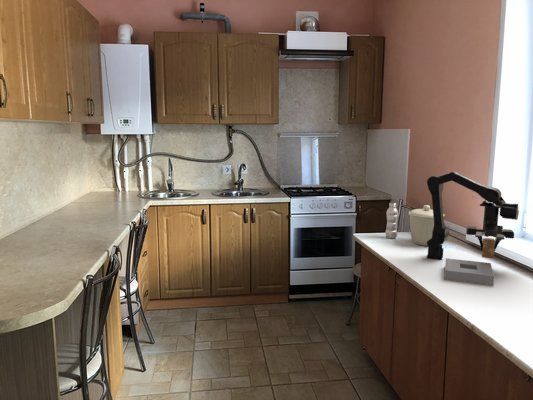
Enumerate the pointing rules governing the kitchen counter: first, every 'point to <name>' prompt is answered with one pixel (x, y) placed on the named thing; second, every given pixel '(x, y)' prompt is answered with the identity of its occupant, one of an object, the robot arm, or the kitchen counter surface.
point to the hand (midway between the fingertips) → (487, 250)
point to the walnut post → (488, 247)
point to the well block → (469, 271)
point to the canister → (421, 225)
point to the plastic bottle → (391, 221)
